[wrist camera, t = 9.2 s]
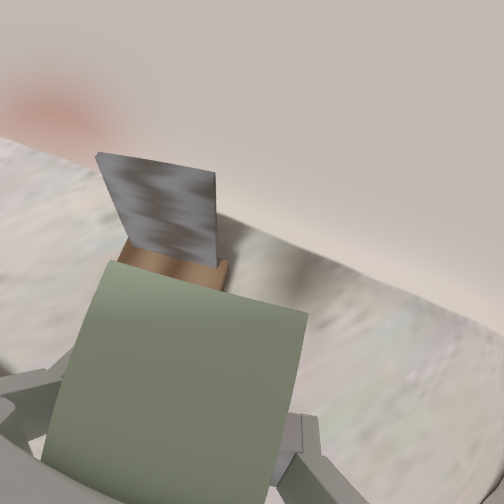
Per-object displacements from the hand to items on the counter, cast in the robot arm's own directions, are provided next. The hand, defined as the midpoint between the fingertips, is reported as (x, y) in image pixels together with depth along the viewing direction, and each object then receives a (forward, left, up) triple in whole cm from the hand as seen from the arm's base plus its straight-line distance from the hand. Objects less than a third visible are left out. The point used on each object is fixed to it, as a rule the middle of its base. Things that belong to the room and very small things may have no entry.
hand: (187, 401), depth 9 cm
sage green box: (0, +1, -8) cm, 8 cm away
